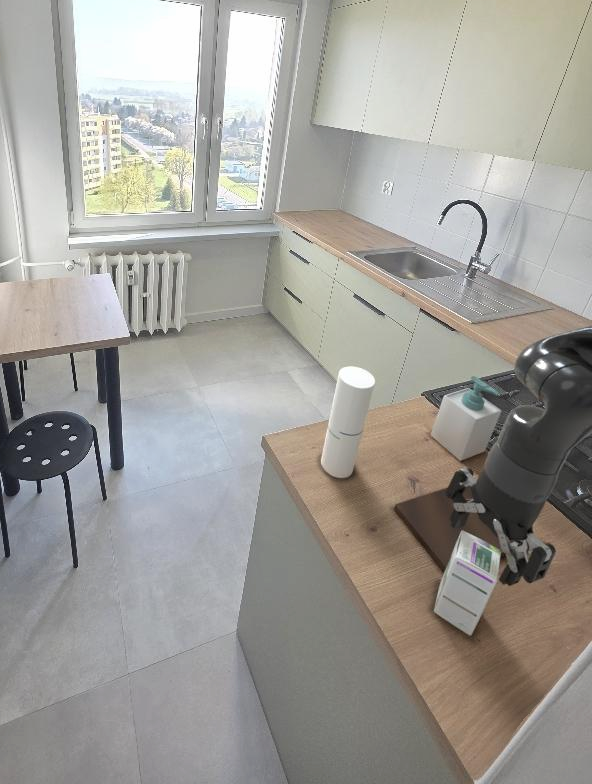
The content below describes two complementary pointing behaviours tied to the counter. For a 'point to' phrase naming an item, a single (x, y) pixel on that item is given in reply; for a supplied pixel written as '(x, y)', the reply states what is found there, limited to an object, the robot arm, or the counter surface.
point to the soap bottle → (466, 421)
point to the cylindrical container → (347, 420)
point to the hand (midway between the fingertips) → (479, 552)
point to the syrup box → (467, 582)
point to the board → (442, 524)
